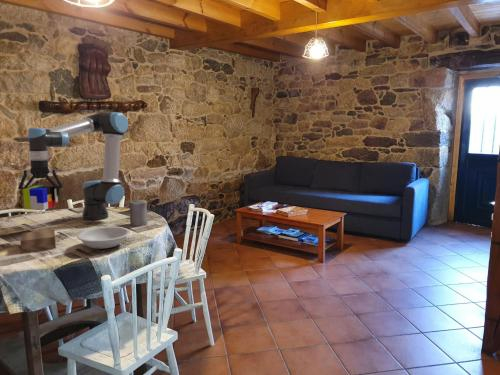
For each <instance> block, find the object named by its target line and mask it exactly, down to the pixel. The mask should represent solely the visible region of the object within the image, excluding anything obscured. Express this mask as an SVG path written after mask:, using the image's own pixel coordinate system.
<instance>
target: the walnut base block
mask: <svg viewBox="0 0 500 375" xmlns="http://www.w3.org/2000/svg"><path fill="white" fill-rule="evenodd" d="M55 233H56V232H55V229H54V228H53V229H45V230H38V231H37V230H35V231H26V232H22V233H21V237H20V252H21V253H22V254H23V253H24V252H25V253H31V251H32V252H38V251H47V250H55V249H56V235H55ZM25 253H24V254H25Z"/></svg>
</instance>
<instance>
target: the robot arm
mask: <svg viewBox="0 0 500 375" xmlns="http://www.w3.org/2000/svg"><path fill="white" fill-rule="evenodd" d="M128 128H129V121H128V118H127V117H126V116H125V114H124V113H121V112H117V111H113V112H112V111H111V112H105V111H103V112H102V111H101V112H98V113H94V114H91V115H87V116H84V117H82V119H79V120H76V121H75V120H74V121H72V122H68V123H65V124H60V125H57V126H54V127H49V128H45V127H30V128H28V130H27V133H28V134H27V135H28V136H27V137H28V138H27V139H28V147H29V148H28V149H29V158H30V160H29V161H30V169H24V170H23V174H22V175H23V176H22V178H21V181H20V183H19V185H18V188H17V189H18V190H21V191H23V189H25V188H29V186H30V185H31V184H32V182H33V181H34V180H35V179H46V180H47V181H48V183H50V184H51V186H54V187H55V190H54V191H55V202H56V203H58V196H59V195H60V189H62V188H63V187H64V185H63V183H62V182H61V180H60V178H59V176H58V175H57V171H56V168H54V169H50V168H49V160H48V159H49V158H48V148H50V147H51V148H55V147H57V148H58V147H59V148H61V147H66V146H68V144H69V143H70V138H72V137H75V136H79V135H81V134H82V135H83V134H85V133H89V134H92V133H95V132H96V133H98V132H99V133H100V132H101V133H102V135H103V137H104V139H105V140H104V153H103V154H104V155H103V173H102V174H103V175H102V178H101V179H98V180H90V181H84V182H83V184H82V192H83V202H84V206H83V211H82V214H81V217H82V218H81V219H82V220H85V221H99V220H100V221H101V220H104V219H107V218H109V212H108V209H107V207H106V204H107V205H115V204H116V205H117V204H119V203H120V202H121V201H123V199H124V196H125V188H124V187H123V186H122V181H121V180H120V179H119V174H120V173H119V171H120V157H121V156H120V154H121V140H122V138H123V137H124V133H125V132H127V130H128ZM49 173H50V174H51V175H52V176H53V178H54V179H55V181H54V180H53V179H52V178H51V177H50V175H48V174H49ZM29 174H31V175H32V176H31V177H30V179H29V180H28V181H27V182H26V183H25V181H26V180H27V177H28V175H29ZM24 183H25V185H24Z"/></svg>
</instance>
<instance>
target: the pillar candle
mask: <svg viewBox="0 0 500 375" xmlns="http://www.w3.org/2000/svg"><path fill="white" fill-rule="evenodd" d="M128 202H129V204H128V205H129V221H130V226H131V227H143V226H142V225H144V226H146V225H145V224H147V225H148V206H147V205H148V204H147V200H146V199H145V200H144V199H134V200H130V201H128Z"/></svg>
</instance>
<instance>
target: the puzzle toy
mask: <svg viewBox="0 0 500 375" xmlns="http://www.w3.org/2000/svg"><path fill="white" fill-rule="evenodd" d="M55 189H56V188H55V187H54V186H53V185H33V186H30V187H29V186H28V187H27V188H25V189H23V190H22V197H23V206H24V207H23V208H24V210H31V211H32V210H34V211H45V210H47V209H51V208H54V207H57V202H55V191H54V190H55Z"/></svg>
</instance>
